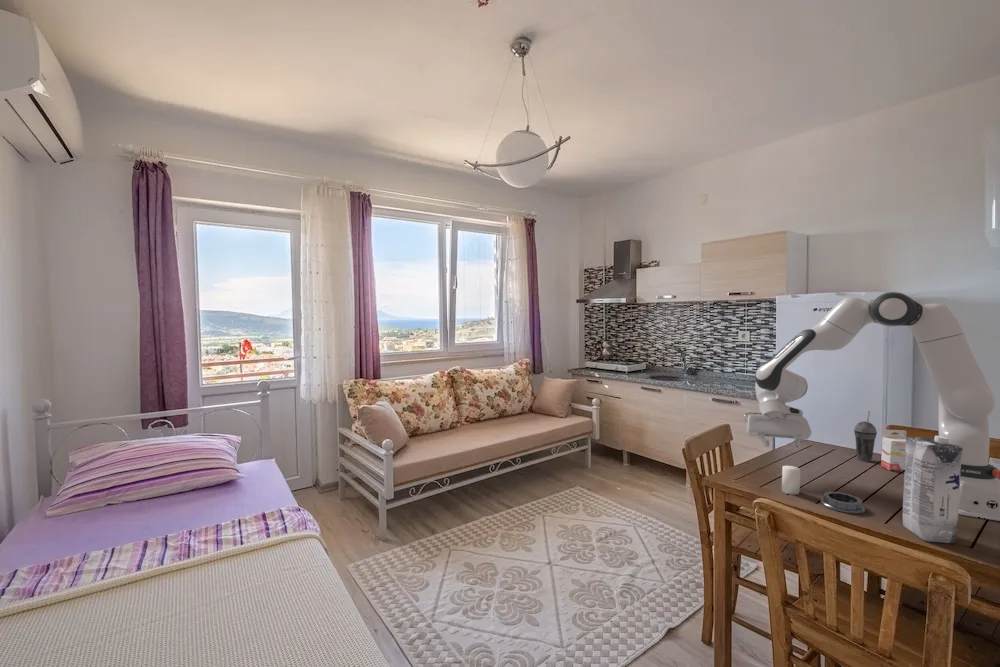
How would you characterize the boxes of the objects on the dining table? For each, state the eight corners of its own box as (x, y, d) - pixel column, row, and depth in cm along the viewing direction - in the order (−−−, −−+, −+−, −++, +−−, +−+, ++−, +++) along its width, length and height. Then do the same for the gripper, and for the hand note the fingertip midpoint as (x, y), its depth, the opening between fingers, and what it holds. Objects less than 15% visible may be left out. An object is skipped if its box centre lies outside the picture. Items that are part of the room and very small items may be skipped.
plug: (800, 491, 153) (801, 467, 152) (798, 496, 149) (799, 471, 149) (783, 487, 156) (783, 464, 156) (780, 492, 152) (781, 468, 152)
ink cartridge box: (890, 471, 172) (891, 432, 171) (880, 466, 177) (882, 429, 176) (914, 472, 171) (916, 433, 170) (904, 467, 176) (906, 429, 175)
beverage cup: (848, 457, 189) (850, 409, 188) (866, 457, 188) (868, 409, 187) (861, 462, 181) (863, 413, 180) (880, 463, 181) (882, 413, 180)
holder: (865, 505, 142) (865, 496, 142) (864, 517, 134) (864, 508, 133) (822, 495, 149) (822, 488, 149) (818, 507, 141) (819, 498, 140)
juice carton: (922, 543, 119) (927, 440, 117) (896, 524, 129) (901, 430, 128) (963, 546, 117) (969, 442, 116) (933, 527, 127) (938, 432, 126)
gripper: (744, 407, 170) (751, 440, 162) (807, 410, 165) (817, 444, 156) (741, 416, 175) (747, 449, 166) (802, 419, 170) (811, 453, 161)
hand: (781, 447), depth 161 cm, fingers open, 8 cm apart
